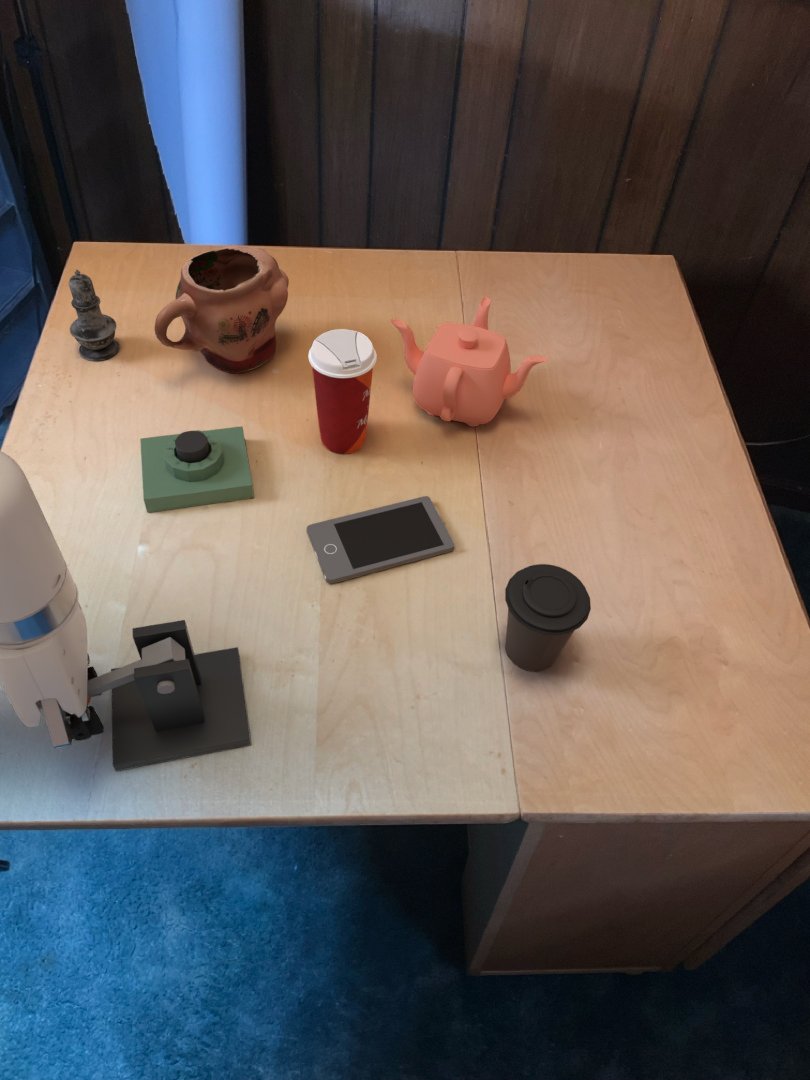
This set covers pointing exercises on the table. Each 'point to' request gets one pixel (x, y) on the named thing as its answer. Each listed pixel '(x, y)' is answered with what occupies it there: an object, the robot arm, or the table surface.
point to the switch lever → (136, 666)
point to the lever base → (178, 703)
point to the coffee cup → (543, 614)
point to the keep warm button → (192, 446)
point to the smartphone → (379, 539)
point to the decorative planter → (228, 307)
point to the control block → (195, 471)
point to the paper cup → (342, 387)
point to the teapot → (463, 370)
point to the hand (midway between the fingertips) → (85, 712)
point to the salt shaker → (91, 321)
